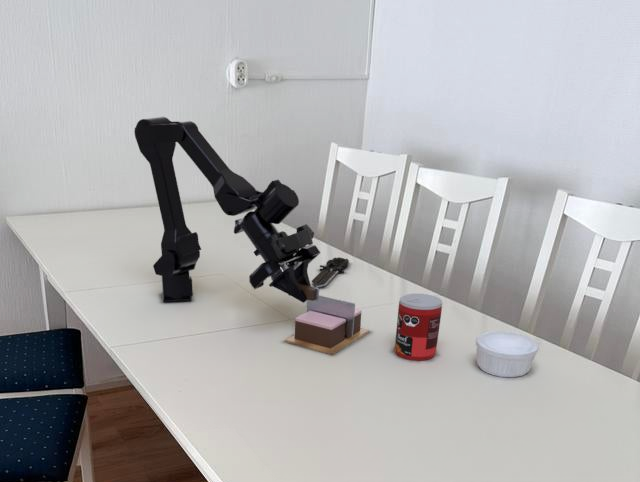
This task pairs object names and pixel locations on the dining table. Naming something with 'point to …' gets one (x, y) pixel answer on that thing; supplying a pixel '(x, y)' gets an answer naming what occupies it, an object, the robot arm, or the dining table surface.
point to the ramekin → (505, 353)
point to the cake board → (325, 349)
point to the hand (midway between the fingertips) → (308, 299)
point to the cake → (323, 328)
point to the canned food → (418, 326)
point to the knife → (332, 273)
